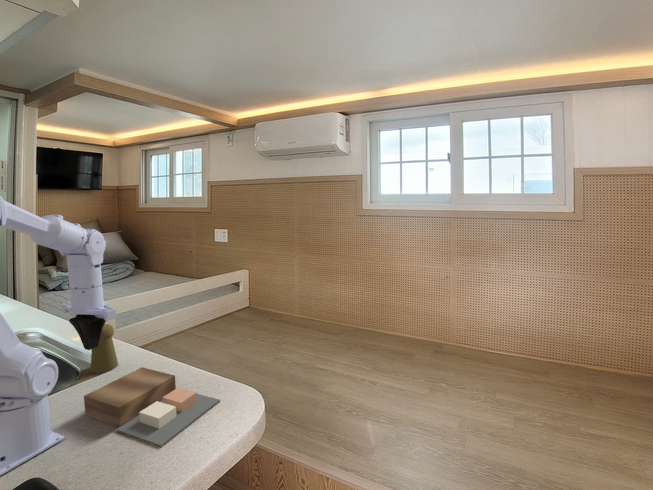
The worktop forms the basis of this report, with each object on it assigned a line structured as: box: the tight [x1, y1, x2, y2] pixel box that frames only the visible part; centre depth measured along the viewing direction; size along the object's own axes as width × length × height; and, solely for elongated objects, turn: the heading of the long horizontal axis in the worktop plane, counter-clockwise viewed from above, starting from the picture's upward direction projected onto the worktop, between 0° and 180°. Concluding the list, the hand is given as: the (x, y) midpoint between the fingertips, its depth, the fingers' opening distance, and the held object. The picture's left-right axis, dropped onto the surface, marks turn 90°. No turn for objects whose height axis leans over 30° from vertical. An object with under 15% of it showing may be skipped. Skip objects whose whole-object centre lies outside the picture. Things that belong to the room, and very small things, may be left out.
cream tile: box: [139, 401, 177, 429], centre depth 66 cm, size 4×5×2 cm
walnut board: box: [83, 367, 177, 428], centre depth 72 cm, size 13×10×4 cm
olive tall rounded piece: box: [90, 323, 119, 374], centre depth 88 cm, size 6×6×11 cm
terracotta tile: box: [162, 387, 197, 412], centre depth 71 cm, size 4×5×2 cm
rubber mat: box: [115, 393, 221, 448], centre depth 68 cm, size 15×11×1 cm
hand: (91, 347), depth 75 cm, fingers closed
